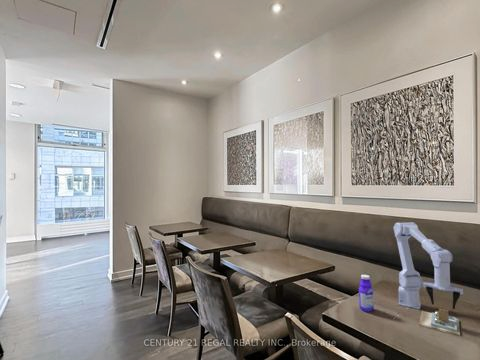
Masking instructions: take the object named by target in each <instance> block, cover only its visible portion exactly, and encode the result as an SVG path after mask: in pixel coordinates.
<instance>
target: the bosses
mask: <svg viewBox="0 0 480 360" xmlns="http://www.w3.org/2000/svg"><path fill="white" fill-rule="evenodd" d="M434 313H435V314H436V315H437V317H439V314H438V310H435V311H434ZM434 320H435V321H436V323H438V324H440V322H442V319H440V318H436V317H435V318H434Z"/></svg>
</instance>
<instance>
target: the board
mask: <svg viewBox="0 0 480 360" xmlns="http://www.w3.org/2000/svg"><path fill="white" fill-rule="evenodd" d="M431 317H432V312H429V311H424V310H421V314H420V317H419V323H418V324H419V325H418V326H420V327H424V328H428V329H431V330H435V331H439V332H440V331H441V332H442V333H443V332H444V333H448V334H451V335H455V336H461V331H460V319H459V318H456V322H457V332H454V331H450V330H446V329H443V328H439V327H435V326H431ZM449 320H451V321H454V320H452V319H449ZM443 326H446V327H450V328H454V329H455V327H452V326H448V325H444V324H443Z"/></svg>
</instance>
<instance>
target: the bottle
mask: <svg viewBox="0 0 480 360" xmlns="http://www.w3.org/2000/svg"><path fill="white" fill-rule="evenodd" d="M360 277H361V278H360V282H359V288H358V298H359V299H358V300H359V301H358V302H359V303H358V304H359V305H358V306H359V309H360V310H361V311H364V312H371V311H373V310H374V304H375V303H374V302H375V301H374V289H373V287H372V282H371V276H370V275H368V274H361V275H360Z"/></svg>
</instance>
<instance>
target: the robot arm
mask: <svg viewBox="0 0 480 360" xmlns="http://www.w3.org/2000/svg"><path fill="white" fill-rule="evenodd" d="M392 228H393V233H394V237H395V238H396V242H397V248H398V252H399V257H400V262H401V267H402V270H401V271H400V272H399V273H398V275H399V278H398V282H399V283H398V284H399V286H398V305H399V306H404V307H409V308H413V309H416V310H420V309H421V305H422V304H421V302H420V290H421V288H422V287H423V288H426V289H425V290H426V292H427V294H428V296H429V299H430V302H431V305H432V306H433V305H435V304H434V303H435V302H434V301H435V299H434V290H439V291H444V292H445V291H446V292H449V293H450V292H451V293H452V309H453V310H455V309H456V304H457V302H458V300H459V299H460V296H461V295H464V289H463V288H460V287H455V286H452V285H451V271H450V269H451V267H450V265H451V264H450V263H452V262H453V257H454V256H453V255H452V253H451V252H450V250H448V249H445V248H442V247H441V246H440V245H438V244H437V243H436V241H434V240H433V239H431V238H427V237H426V236H425V235H424V234H423V233H422V232H421V231H420V230H419V226H418V225H417V224H416V222H413V221H411V222H395V224H394V226H393V227H392ZM411 237H413V238H414V239H416V241H418V242H419V243H421V247H422V248H423V250H425V251H426V252H427V254H429V256H430V260H431V261H432V265H433V266H434V267H433V268H434V270H433V271H434V273H433V274H434V282H426V281H423V278H422V277H421V275H420V272H419V271H417V270H416V269H415V266H414V262H413V258H412V252H411V249H410V244H409V239H410V238H411Z"/></svg>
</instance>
